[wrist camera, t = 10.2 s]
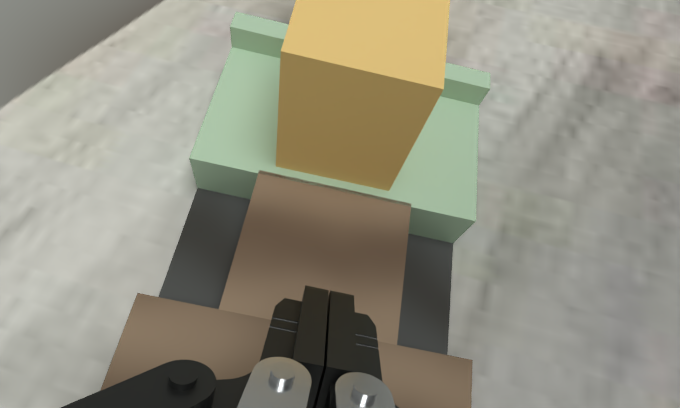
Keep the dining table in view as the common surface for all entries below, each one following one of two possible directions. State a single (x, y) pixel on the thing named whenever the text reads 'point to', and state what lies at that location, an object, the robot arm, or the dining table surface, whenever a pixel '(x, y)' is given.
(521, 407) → the dining table surface
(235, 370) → the board
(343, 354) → the robot arm
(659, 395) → the dining table surface
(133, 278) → the dining table surface
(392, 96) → the block
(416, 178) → the pale green stepped block
